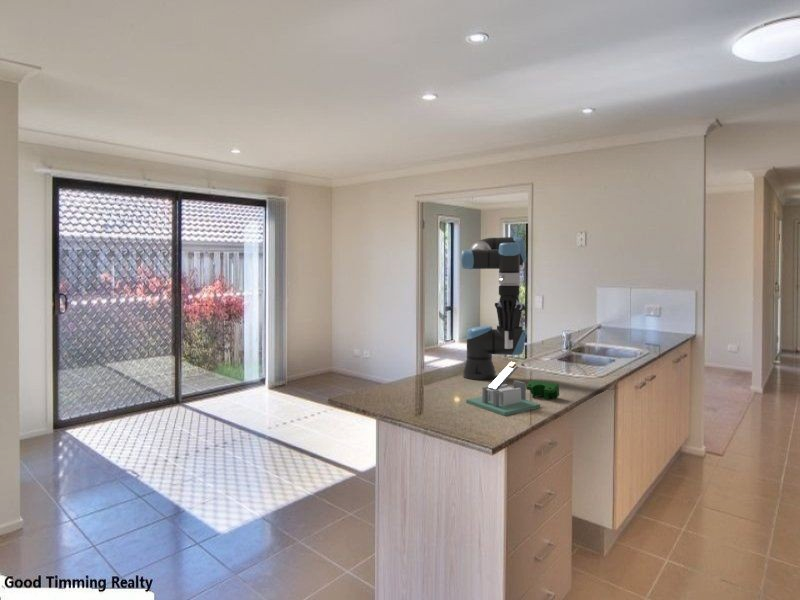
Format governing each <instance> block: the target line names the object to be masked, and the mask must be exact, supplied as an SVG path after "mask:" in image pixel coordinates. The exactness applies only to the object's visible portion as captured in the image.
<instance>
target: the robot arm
mask: <svg viewBox="0 0 800 600" xmlns="http://www.w3.org/2000/svg"><path fill="white" fill-rule="evenodd" d="M525 247H526V246H525V240H524V239H523V238H522V237H519V236H518V237H514V236H508V237H507V236H506V237H503V236H502V237H485V238H484V239H480V240H478V241H476V242H474V243H473V244H471V247H470V249H463V250H462V251H461V257H460V258H461V267H462V269H463V270H482V269H483V270H498V284H499V286H498V295H499V300H498V302H494V307H495V309H496V314H497V321H498V324H496V328H495V329H494V328H493V327H492V326H491V325H480V326H474V327H470V328H468V329H467V331H466V337H465V339H466V361H465V363H464V364H465V365H464V367H463V370H462V376H463V378H465V379H470V380H481V381H482V380H483V381H484V380H491V379H495V378H496V377H497V375H496V370H495V366H494V363H493V355H497V356H498V355H499V356H500V355H501V356H502V355H503V356H505V355H506V356H520V355H522V354H523V352H524V348H525V341H526V335H527V334H526V333H527V330H526V329H524V325H522V323H521V317H522V313H523V309H524V307H525V305H524V304H523V303H521V302H520V292H521V291H520V290H521V289H520V288H521V287H520V281H521V279H520V277H521V273H520V270H521V269H522V268H523V267H524V264H525V263H527V256H526V255H527V254H526V248H525Z"/></svg>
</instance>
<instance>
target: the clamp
mask: <svg viewBox="0 0 800 600" xmlns="http://www.w3.org/2000/svg"><path fill="white" fill-rule="evenodd" d="M559 387H560V386H559V383H555V382H547V381H541V380H535V379H531V380H530V381H529V382H528V383H526V391H527V390H528V391H530V394H531V395H532V399H534V398H536V397H538V396H539V397H543V398H544V400H545V401H546V400H549V398H550V399H553V400H554V399H557V398H558V397H559V396H560V389H559Z"/></svg>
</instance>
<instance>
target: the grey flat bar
mask: <svg viewBox="0 0 800 600" xmlns="http://www.w3.org/2000/svg"><path fill="white" fill-rule="evenodd" d="M518 366H519V365H517V362H513V361H510V362H509V363H508V364H507V365H506V366H505V367H504V369H502V370H501V372H500V373H499V374H498V375H496V377H495V378H494V380H492V382H491V383H490V384H488V386H487V387H488V389H492V390H498V389H499V388H500V387H501V386H502V385H504V384H505V383H506V382H507V380H509V378H510V377H511V376H512V374H513V373H514V372H515V371H516V370H517V369H518Z"/></svg>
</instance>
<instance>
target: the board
mask: <svg viewBox="0 0 800 600" xmlns="http://www.w3.org/2000/svg"><path fill="white" fill-rule="evenodd" d="M526 385H527V383H526V382H525V381H524V382H523V381H522V380H521V381H520V380H517V379H515V380H513V387H510V386H508V384H507V383H503V385H502V386H501V387H500V388H499V389H498V390H492V389H489V388H488V386H482V396H478V397H473V398H469V399H467V398H466V400H465V401H466V404H469V405H472V406H475V407H477V408H479V409H480V408H481V409H483V410H487V411H489V412H492V413H495V414H497V415H501V416H503V417H506V416H509V415H515V414H518V413H523V412H526V411H532V410H535V409H540V408H541V403H538V402H534V401H531V400H528V399H527V397H526V394H527V393H526V391H527V388H526Z"/></svg>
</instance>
